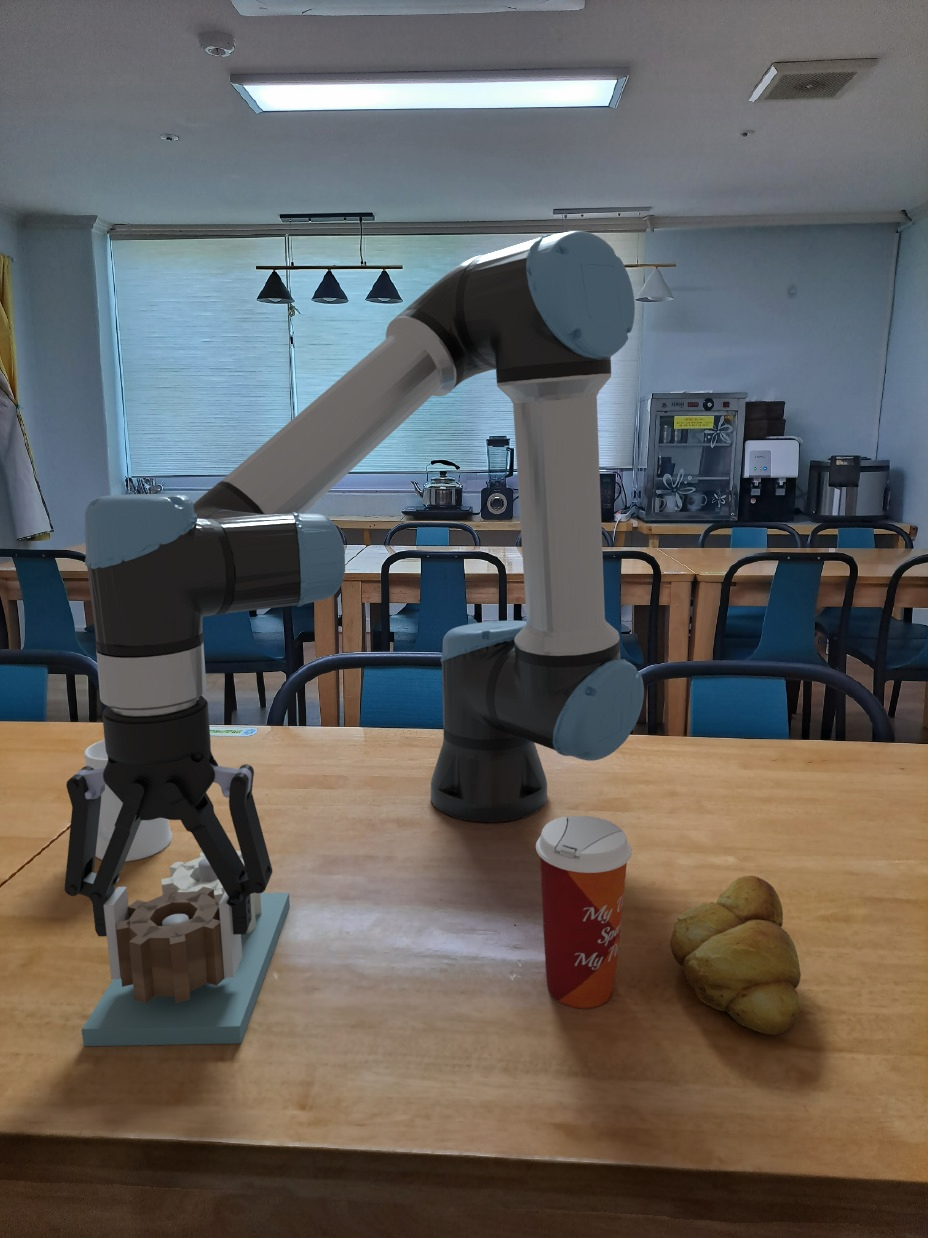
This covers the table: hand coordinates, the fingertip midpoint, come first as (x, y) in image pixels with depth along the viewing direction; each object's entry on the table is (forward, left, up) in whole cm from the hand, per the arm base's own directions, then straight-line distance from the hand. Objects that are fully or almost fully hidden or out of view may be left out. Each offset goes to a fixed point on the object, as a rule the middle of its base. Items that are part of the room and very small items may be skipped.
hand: (178, 967), depth 66 cm
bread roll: (-46, 0, -4) cm, 46 cm away
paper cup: (-33, -1, -4) cm, 33 cm away
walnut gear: (0, 0, 0) cm, 0 cm away
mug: (+15, -26, -4) cm, 30 cm away
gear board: (0, -5, -3) cm, 6 cm away
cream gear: (0, -10, -2) cm, 10 cm away
